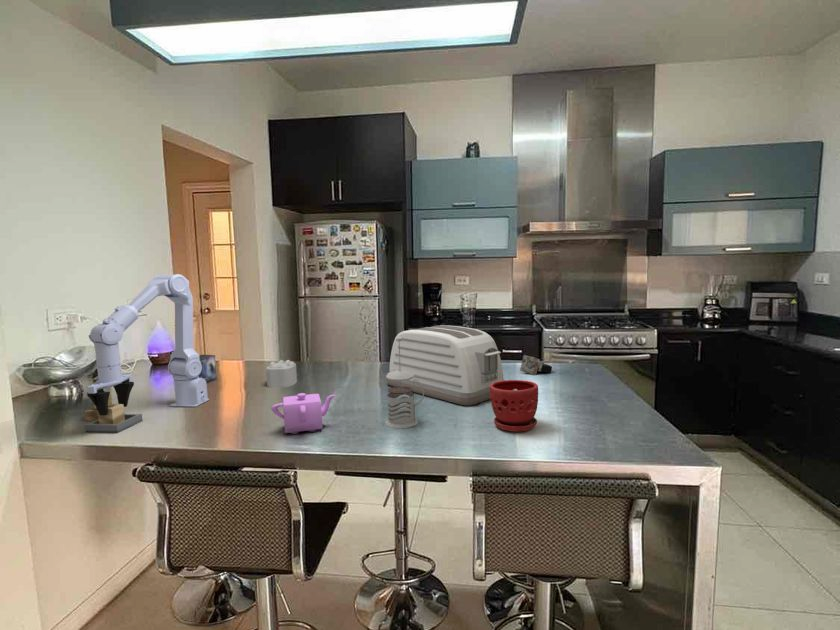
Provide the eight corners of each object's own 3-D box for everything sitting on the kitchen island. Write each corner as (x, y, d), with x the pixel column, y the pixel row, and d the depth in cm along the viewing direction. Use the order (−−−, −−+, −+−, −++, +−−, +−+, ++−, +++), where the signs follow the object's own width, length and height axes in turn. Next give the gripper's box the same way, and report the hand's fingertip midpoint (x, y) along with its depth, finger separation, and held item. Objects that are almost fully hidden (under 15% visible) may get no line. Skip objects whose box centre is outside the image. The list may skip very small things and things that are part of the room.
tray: (142, 421, 141) (142, 414, 141) (117, 433, 131) (116, 425, 131) (112, 420, 142) (111, 413, 142) (85, 432, 132) (84, 424, 132)
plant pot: (537, 419, 134) (537, 379, 133) (538, 436, 121) (538, 391, 120) (491, 417, 137) (491, 377, 136) (488, 433, 124) (487, 389, 123)
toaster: (473, 410, 144) (472, 339, 142) (382, 385, 176) (380, 327, 174) (516, 395, 160) (516, 330, 157) (425, 374, 192) (424, 321, 190)
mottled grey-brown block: (550, 376, 193) (547, 378, 184) (524, 369, 198) (519, 370, 188) (554, 361, 193) (551, 362, 184) (528, 354, 197) (523, 354, 188)
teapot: (335, 417, 140) (334, 385, 139) (341, 433, 127) (339, 397, 126) (273, 425, 135) (271, 391, 134) (272, 442, 122) (269, 404, 121)
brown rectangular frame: (124, 413, 149) (123, 404, 149) (106, 421, 142) (105, 411, 142) (103, 413, 150) (102, 404, 150) (85, 420, 143) (84, 411, 142)
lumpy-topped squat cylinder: (264, 387, 177) (262, 365, 176) (275, 379, 190) (274, 358, 189) (291, 387, 177) (289, 364, 176) (300, 378, 190) (299, 357, 189)
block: (125, 422, 139) (123, 403, 138) (113, 427, 134) (111, 408, 134) (111, 421, 139) (109, 403, 139) (99, 427, 135) (97, 408, 134)
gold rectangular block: (113, 415, 147) (111, 394, 147) (105, 419, 144) (102, 397, 143) (104, 415, 148) (101, 393, 147) (95, 418, 145) (93, 396, 144)
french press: (386, 416, 140) (383, 334, 137) (424, 416, 139) (423, 333, 137) (382, 428, 130) (379, 340, 127) (424, 427, 130) (422, 339, 127)
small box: (200, 386, 182) (198, 359, 181) (186, 385, 183) (184, 359, 182) (217, 379, 192) (215, 354, 191) (203, 379, 193) (201, 354, 192)
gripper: (115, 359, 142) (119, 403, 144) (75, 371, 128) (80, 418, 130) (136, 359, 142) (140, 403, 143) (98, 371, 127) (103, 419, 129)
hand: (113, 410), depth 136 cm, fingers open, 7 cm apart
